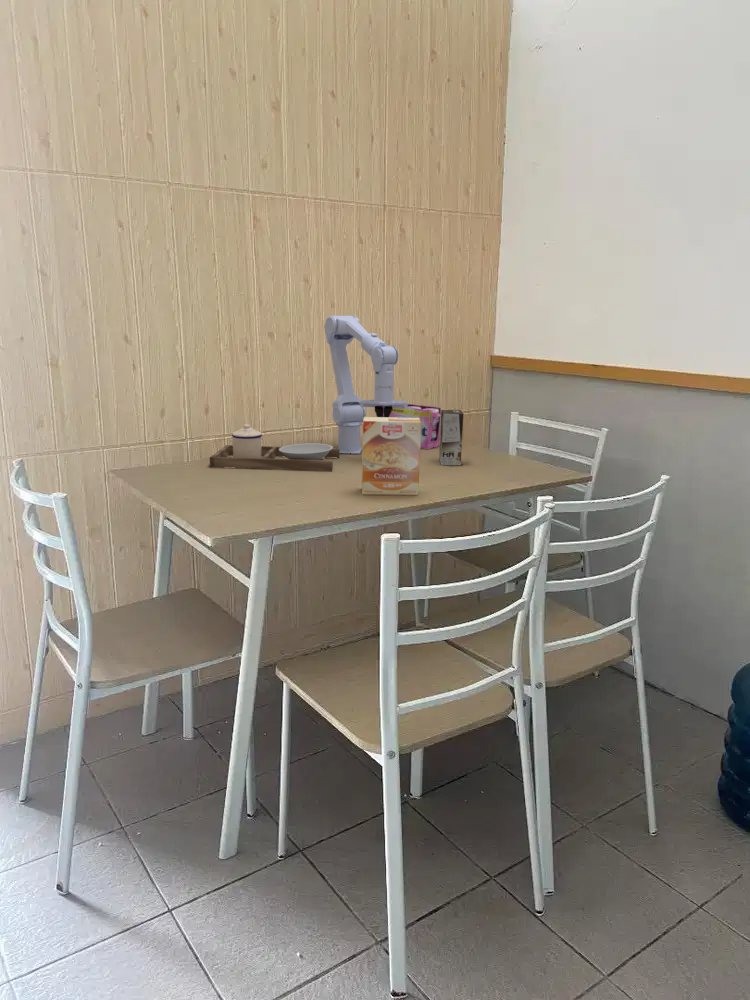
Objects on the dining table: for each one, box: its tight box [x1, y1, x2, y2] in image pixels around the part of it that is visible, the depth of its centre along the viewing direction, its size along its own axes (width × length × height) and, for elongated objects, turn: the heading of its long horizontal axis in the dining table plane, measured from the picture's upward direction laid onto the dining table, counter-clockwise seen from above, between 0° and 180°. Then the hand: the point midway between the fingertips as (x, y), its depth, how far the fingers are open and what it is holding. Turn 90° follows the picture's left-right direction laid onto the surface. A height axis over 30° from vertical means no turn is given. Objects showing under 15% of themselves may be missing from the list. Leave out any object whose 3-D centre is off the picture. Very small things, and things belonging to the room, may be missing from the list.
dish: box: [279, 442, 334, 460], centre depth 229 cm, size 18×14×5 cm
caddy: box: [209, 444, 341, 472], centre depth 230 cm, size 19×36×3 cm, turn 86°
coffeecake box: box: [361, 416, 421, 496], centre depth 196 cm, size 15×7×20 cm, turn 91°
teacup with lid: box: [231, 423, 263, 458], centre depth 230 cm, size 12×9×12 cm
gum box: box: [375, 403, 442, 450], centre depth 262 cm, size 24×8×14 cm, turn 53°
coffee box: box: [438, 409, 464, 466], centre depth 233 cm, size 9×6×16 cm
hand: (383, 430), depth 231 cm, fingers closed
